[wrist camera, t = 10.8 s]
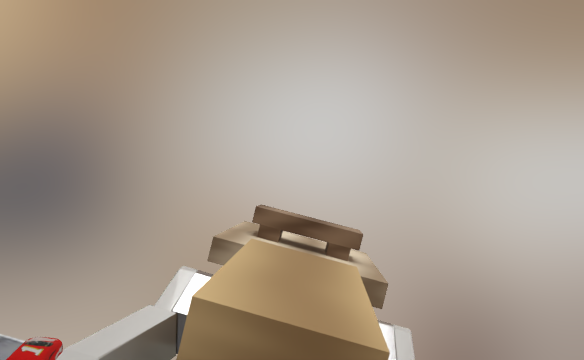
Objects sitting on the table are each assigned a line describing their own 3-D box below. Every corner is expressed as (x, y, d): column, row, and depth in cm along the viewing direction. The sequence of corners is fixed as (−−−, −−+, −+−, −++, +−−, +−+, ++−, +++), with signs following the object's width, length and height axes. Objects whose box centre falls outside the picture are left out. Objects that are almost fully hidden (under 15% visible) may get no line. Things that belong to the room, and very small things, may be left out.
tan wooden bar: (152, 459, 7) (191, 296, 7) (271, 256, 24) (283, 207, 24) (343, 522, 7) (389, 352, 7) (327, 271, 24) (339, 222, 24)
